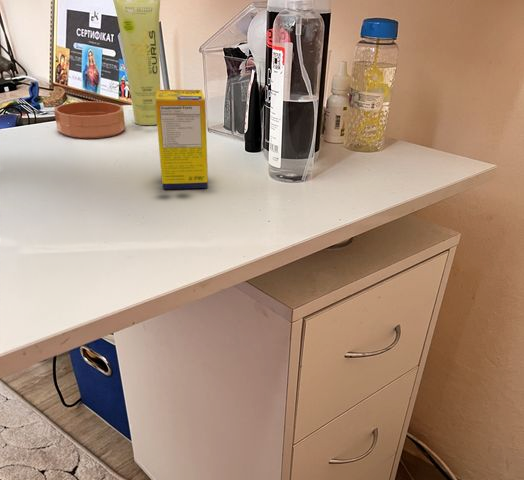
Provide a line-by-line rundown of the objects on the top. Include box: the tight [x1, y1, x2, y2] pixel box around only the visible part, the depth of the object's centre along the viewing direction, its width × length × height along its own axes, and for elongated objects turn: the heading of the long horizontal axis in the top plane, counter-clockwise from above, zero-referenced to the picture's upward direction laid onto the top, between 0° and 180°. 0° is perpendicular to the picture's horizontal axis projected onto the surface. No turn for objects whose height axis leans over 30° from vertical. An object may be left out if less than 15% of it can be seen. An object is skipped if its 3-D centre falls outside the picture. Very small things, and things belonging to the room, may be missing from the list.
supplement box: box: [156, 89, 209, 190], centre depth 68 cm, size 6×6×11 cm
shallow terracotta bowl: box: [53, 100, 126, 139], centre depth 89 cm, size 11×11×4 cm
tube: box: [112, 0, 161, 126], centre depth 90 cm, size 6×5×20 cm
